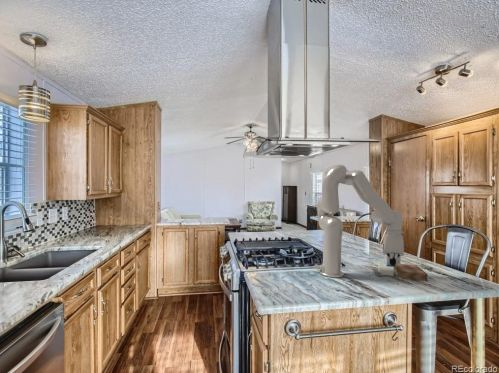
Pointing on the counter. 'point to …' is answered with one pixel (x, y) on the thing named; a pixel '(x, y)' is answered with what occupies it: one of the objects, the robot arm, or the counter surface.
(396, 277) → the mat
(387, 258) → the medicine box
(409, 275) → the brown curved piece
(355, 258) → the counter surface
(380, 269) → the card
